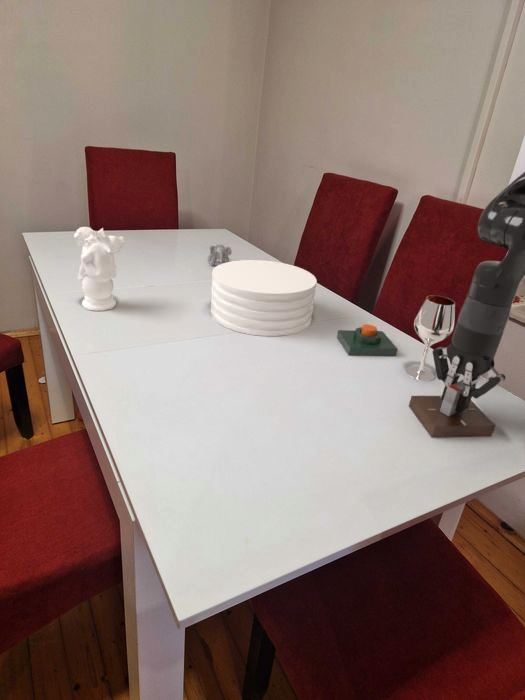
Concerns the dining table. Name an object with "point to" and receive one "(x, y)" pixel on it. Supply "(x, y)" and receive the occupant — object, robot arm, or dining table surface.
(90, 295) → the cherub figurine
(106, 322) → the dining table surface
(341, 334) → the button box
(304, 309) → the plate stack
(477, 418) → the panel
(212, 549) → the dining table surface
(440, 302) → the wineglass
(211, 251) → the elephant statuette
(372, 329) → the button
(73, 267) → the dining table surface
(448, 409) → the tap knob
